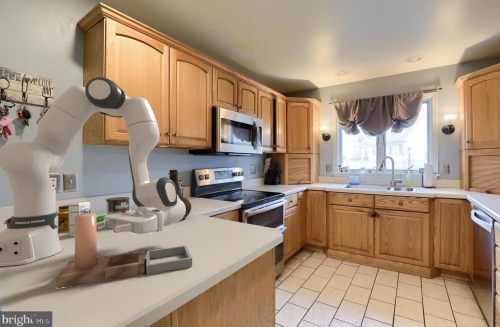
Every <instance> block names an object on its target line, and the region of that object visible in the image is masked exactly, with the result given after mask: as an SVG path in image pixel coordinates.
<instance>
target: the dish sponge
mask: <svg viewBox="0 0 500 327" xmlns="http://www.w3.org/2000/svg"><path fill="white" fill-rule="evenodd" d="M105 216H107V214H106V215H105V214H104V215H98V216H96V223H99V222H102V221H104V217H105Z"/></svg>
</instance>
